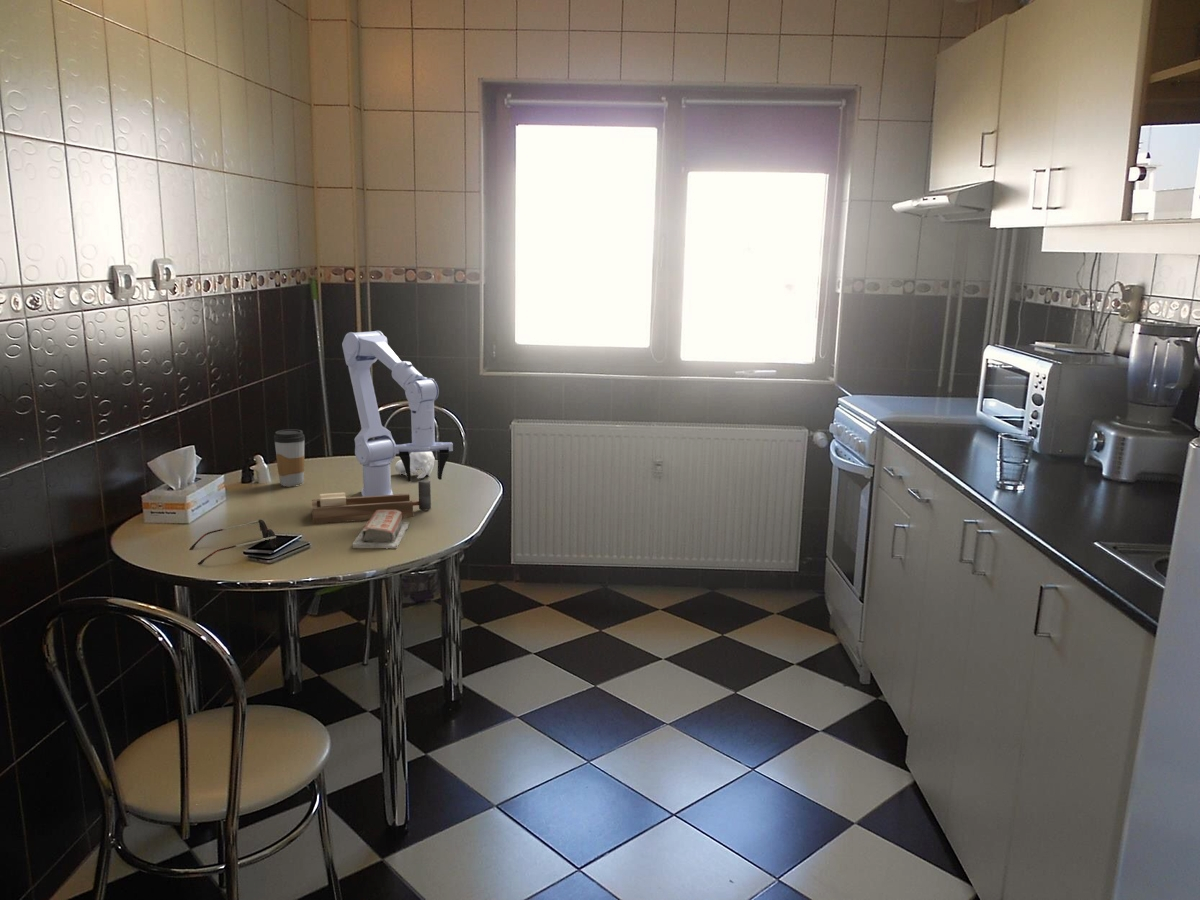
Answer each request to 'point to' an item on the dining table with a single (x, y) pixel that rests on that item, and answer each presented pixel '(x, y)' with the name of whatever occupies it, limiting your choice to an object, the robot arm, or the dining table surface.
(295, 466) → the coffee cup
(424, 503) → the grey and red rod
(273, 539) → the sunglasses
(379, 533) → the packaged product
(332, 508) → the lane tray
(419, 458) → the white animal figurine
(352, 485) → the dining table surface
